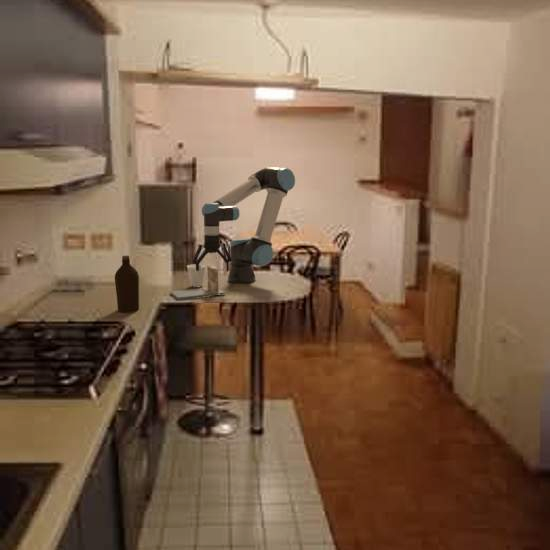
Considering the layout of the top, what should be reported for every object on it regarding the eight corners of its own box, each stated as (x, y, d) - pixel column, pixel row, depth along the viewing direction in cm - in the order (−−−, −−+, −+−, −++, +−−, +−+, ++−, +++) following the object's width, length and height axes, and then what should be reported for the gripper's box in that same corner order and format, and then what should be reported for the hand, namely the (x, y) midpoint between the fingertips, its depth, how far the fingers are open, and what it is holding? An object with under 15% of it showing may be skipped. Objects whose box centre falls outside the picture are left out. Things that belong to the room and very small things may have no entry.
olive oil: (137, 313, 277) (134, 258, 272) (113, 313, 277) (110, 258, 272) (142, 307, 287) (140, 254, 282) (120, 306, 288) (117, 253, 282)
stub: (216, 289, 321) (215, 264, 319) (225, 294, 309) (224, 269, 306) (201, 290, 318) (200, 265, 315) (209, 296, 306) (209, 270, 303)
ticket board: (201, 290, 318) (200, 287, 318) (209, 297, 306) (209, 293, 305) (170, 294, 312) (170, 290, 311) (177, 300, 299) (177, 297, 299)
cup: (207, 284, 333) (207, 264, 330) (203, 288, 323) (203, 268, 321) (189, 284, 334) (189, 264, 331) (185, 288, 324) (184, 267, 322)
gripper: (232, 232, 316) (233, 273, 320) (185, 234, 306) (186, 276, 310) (238, 234, 309) (238, 275, 313) (189, 236, 299) (190, 279, 303)
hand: (212, 276), depth 311 cm, fingers open, 13 cm apart
